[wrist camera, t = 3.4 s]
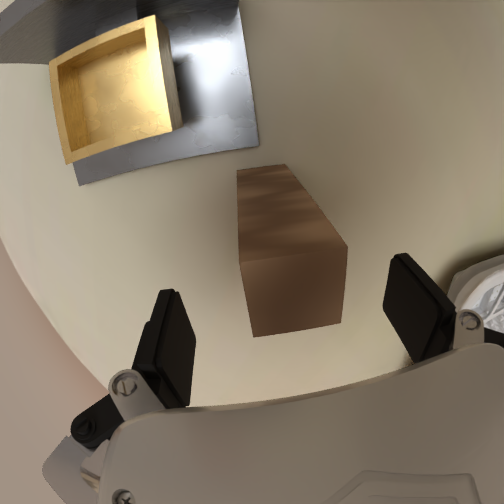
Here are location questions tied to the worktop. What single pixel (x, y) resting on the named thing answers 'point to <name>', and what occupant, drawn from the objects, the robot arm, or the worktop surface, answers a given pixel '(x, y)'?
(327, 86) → the worktop surface
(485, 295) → the dish rack
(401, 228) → the worktop surface
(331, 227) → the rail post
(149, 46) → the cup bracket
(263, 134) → the worktop surface
